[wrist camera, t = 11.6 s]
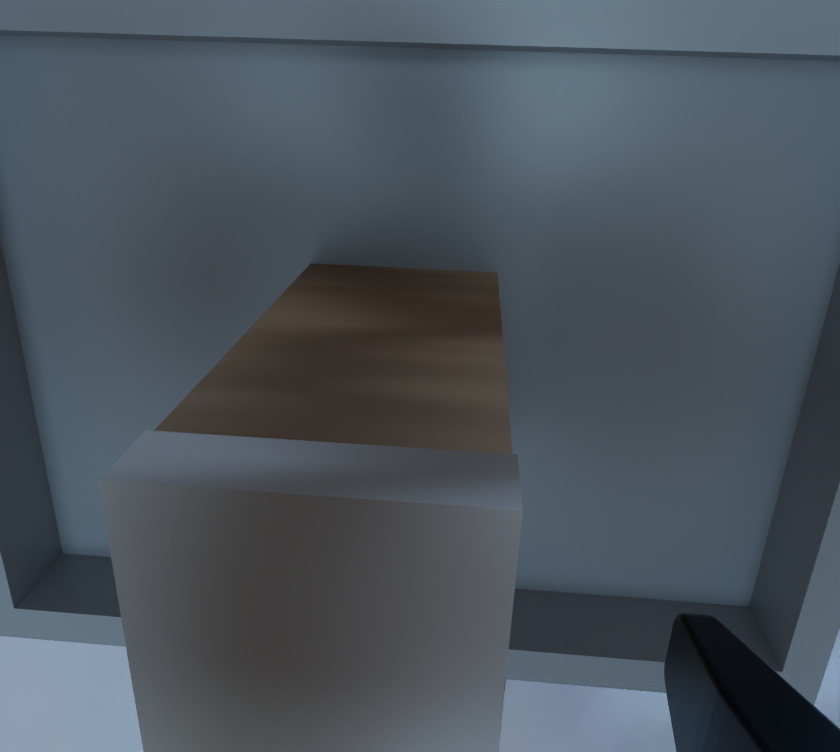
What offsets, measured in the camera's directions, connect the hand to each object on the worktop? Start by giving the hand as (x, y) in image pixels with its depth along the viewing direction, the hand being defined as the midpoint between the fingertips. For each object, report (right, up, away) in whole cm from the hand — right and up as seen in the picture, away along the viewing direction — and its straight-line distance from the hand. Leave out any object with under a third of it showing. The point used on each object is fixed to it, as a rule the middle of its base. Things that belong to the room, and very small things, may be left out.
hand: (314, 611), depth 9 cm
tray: (+1, +4, +9) cm, 10 cm away
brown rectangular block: (+1, +4, +9) cm, 10 cm away
